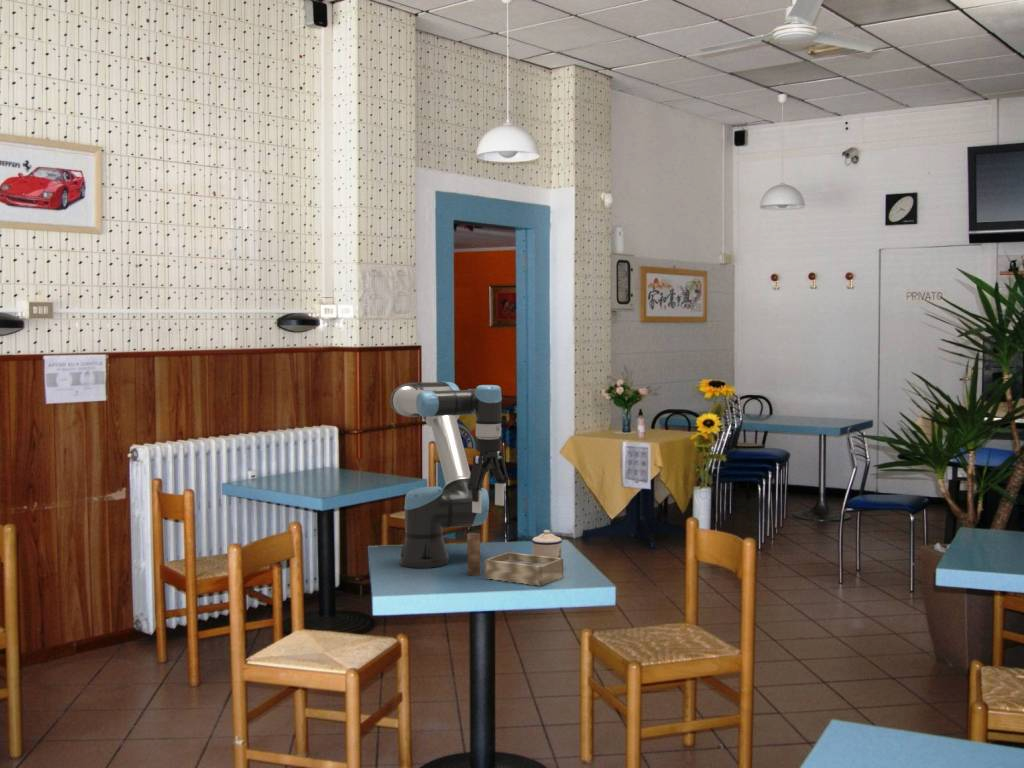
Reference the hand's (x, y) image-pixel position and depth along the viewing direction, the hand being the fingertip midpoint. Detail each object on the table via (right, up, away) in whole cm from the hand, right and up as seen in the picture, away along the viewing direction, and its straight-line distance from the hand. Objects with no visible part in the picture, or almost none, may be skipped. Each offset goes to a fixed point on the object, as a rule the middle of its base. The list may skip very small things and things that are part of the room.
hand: (488, 508), depth 312 cm
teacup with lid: (+17, -19, +8) cm, 27 cm away
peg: (-4, -19, 0) cm, 20 cm away
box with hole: (+11, -20, -6) cm, 23 cm away
